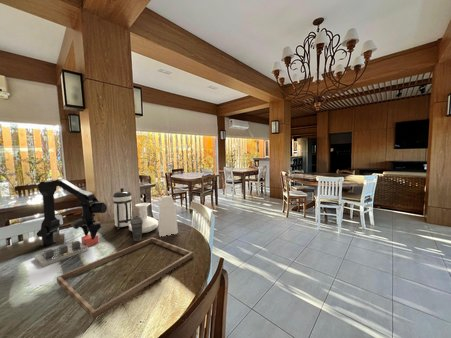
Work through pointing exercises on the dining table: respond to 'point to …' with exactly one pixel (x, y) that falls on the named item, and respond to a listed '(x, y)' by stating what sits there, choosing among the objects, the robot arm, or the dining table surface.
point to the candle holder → (145, 218)
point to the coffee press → (122, 208)
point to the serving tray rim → (128, 293)
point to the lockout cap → (89, 240)
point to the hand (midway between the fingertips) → (89, 237)
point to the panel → (60, 255)
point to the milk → (167, 217)
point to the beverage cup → (136, 227)
